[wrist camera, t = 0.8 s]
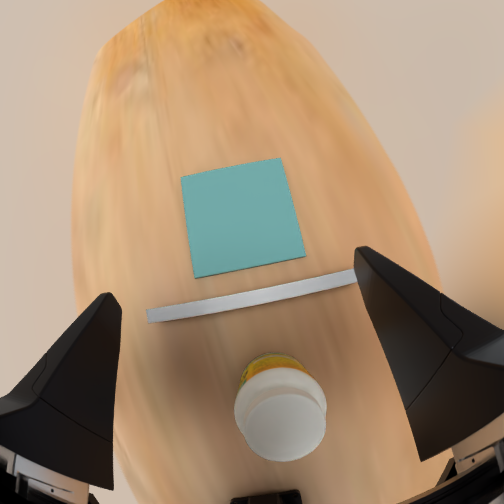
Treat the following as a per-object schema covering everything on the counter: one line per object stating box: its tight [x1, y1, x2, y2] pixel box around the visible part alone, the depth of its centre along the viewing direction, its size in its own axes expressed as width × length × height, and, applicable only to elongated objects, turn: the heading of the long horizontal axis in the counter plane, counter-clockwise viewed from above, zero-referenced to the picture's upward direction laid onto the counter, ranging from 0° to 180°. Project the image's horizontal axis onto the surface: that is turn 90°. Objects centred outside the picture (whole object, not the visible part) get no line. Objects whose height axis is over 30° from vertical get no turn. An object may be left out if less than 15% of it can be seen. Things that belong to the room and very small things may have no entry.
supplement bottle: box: [234, 352, 327, 462], centre depth 16 cm, size 5×5×10 cm
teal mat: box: [181, 158, 306, 278], centre depth 23 cm, size 9×9×1 cm
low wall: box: [146, 268, 358, 323], centre depth 20 cm, size 1×16×3 cm, turn 102°
